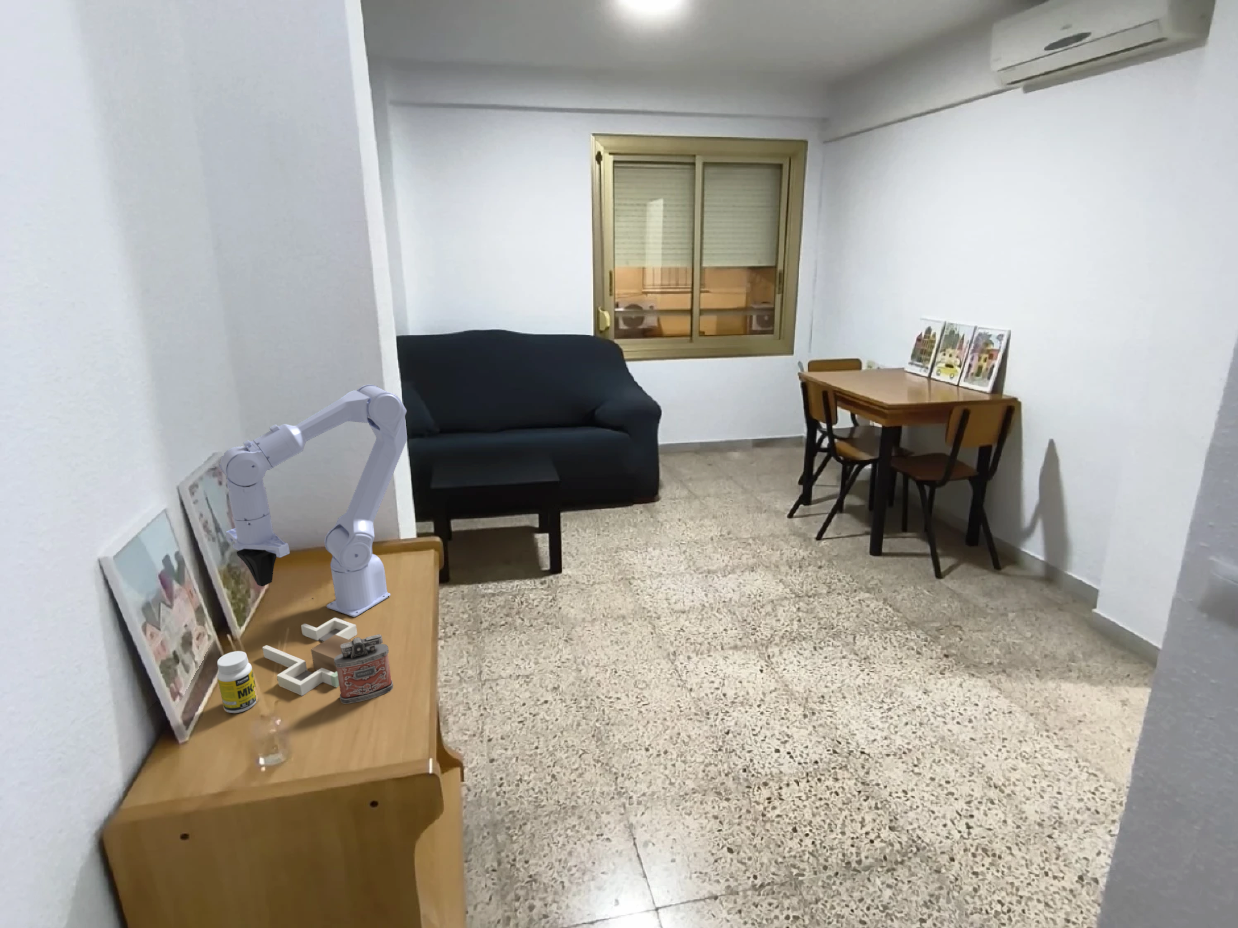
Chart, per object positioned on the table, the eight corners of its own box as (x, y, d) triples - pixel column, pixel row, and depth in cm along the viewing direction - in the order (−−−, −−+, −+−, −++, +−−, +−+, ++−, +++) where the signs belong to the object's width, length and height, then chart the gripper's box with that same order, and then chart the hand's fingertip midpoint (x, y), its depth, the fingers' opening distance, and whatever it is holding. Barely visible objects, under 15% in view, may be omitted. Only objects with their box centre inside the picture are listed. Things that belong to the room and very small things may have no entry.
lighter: (341, 706, 104) (332, 652, 101) (339, 694, 107) (330, 640, 104) (394, 691, 108) (388, 638, 105) (391, 679, 111) (384, 627, 108)
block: (338, 653, 118) (335, 634, 117) (362, 663, 115) (359, 643, 114) (314, 669, 114) (310, 649, 112) (339, 679, 111) (335, 659, 110)
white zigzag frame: (324, 622, 127) (322, 613, 127) (394, 647, 119) (392, 637, 119) (242, 669, 113) (240, 659, 113) (315, 701, 105) (313, 691, 105)
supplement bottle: (243, 715, 102) (233, 669, 100) (217, 711, 103) (206, 665, 101) (265, 695, 107) (256, 651, 104) (239, 692, 108) (229, 647, 105)
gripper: (203, 514, 117) (218, 583, 121) (257, 530, 111) (271, 602, 115) (241, 501, 123) (254, 567, 127) (294, 515, 116) (306, 585, 121)
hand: (264, 583), depth 121 cm, fingers closed
